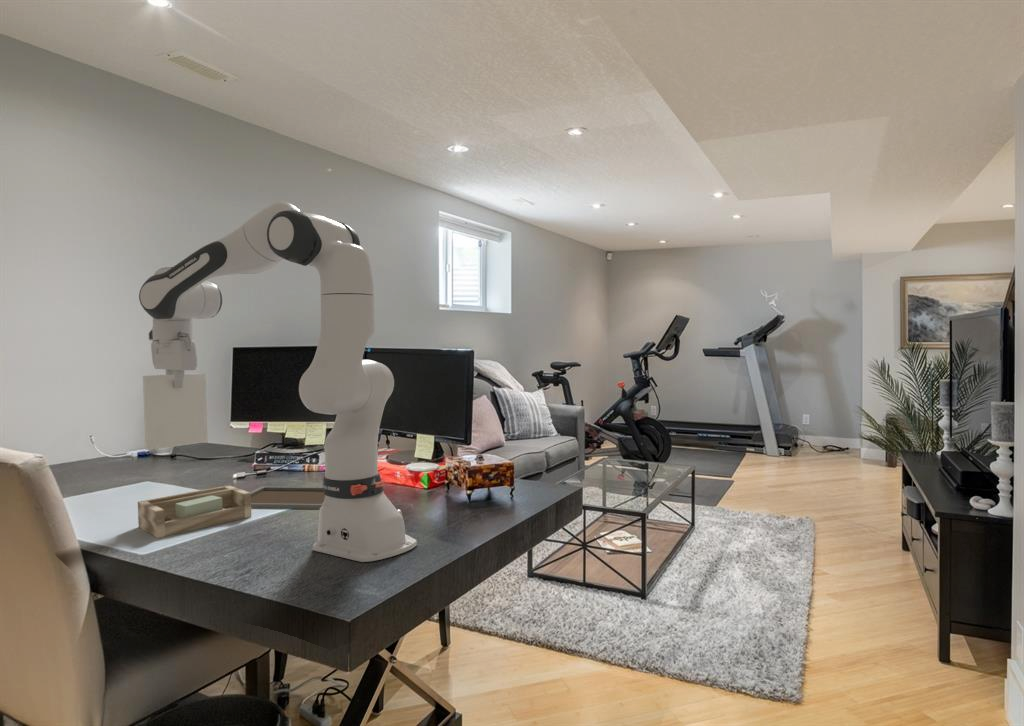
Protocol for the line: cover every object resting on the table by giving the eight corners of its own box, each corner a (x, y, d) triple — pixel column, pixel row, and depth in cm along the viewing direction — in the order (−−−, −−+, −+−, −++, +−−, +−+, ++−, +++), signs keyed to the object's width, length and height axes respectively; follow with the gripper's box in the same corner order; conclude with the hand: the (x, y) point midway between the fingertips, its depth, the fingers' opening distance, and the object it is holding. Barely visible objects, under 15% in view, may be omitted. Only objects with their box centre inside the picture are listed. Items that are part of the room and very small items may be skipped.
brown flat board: (325, 504, 158) (215, 503, 161) (325, 511, 158) (215, 509, 161) (351, 487, 177) (252, 486, 180) (351, 492, 177) (252, 491, 180)
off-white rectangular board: (207, 442, 159) (205, 373, 159) (147, 449, 149) (145, 376, 148) (205, 441, 161) (202, 373, 160) (145, 449, 150) (142, 376, 150)
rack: (251, 516, 152) (250, 492, 152) (157, 538, 136) (156, 511, 136) (229, 507, 160) (228, 485, 160) (138, 526, 145) (137, 501, 145)
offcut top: (222, 509, 149) (222, 497, 149) (185, 519, 142) (185, 506, 142) (212, 507, 152) (211, 495, 152) (175, 516, 144) (175, 503, 144)
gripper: (203, 332, 149) (205, 388, 150) (172, 333, 163) (174, 385, 163) (175, 332, 144) (177, 390, 145) (146, 333, 158) (148, 387, 159)
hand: (175, 387), depth 154 cm, fingers closed on off-white rectangular board, 2 cm apart
